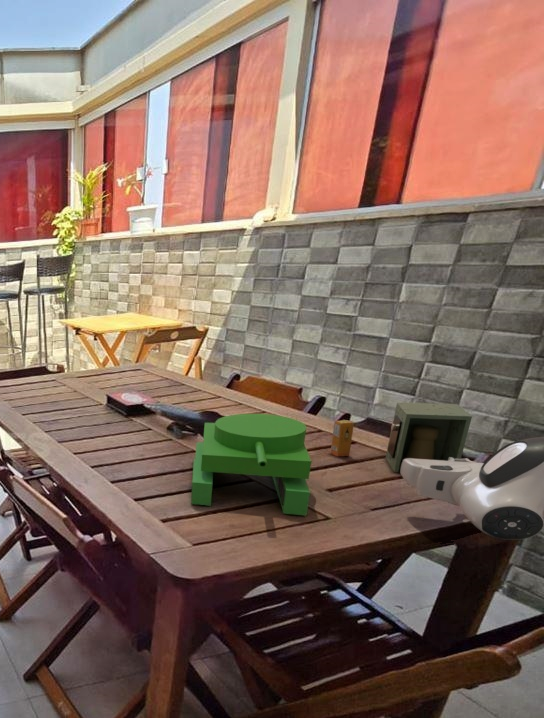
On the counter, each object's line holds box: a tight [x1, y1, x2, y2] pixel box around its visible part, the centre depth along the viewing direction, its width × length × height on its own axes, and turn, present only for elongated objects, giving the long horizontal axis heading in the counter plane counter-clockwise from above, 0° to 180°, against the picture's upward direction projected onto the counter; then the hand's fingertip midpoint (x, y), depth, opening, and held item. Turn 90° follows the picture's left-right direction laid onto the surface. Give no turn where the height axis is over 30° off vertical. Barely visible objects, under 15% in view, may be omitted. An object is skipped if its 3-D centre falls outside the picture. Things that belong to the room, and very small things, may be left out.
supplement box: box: [330, 419, 355, 458], centre depth 139 cm, size 3×4×10 cm
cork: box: [404, 425, 439, 460], centre depth 127 cm, size 6×6×11 cm
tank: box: [190, 413, 312, 517], centre depth 124 cm, size 24×35×16 cm
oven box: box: [385, 402, 473, 473], centre depth 126 cm, size 13×11×16 cm
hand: (457, 460), depth 106 cm, fingers closed
